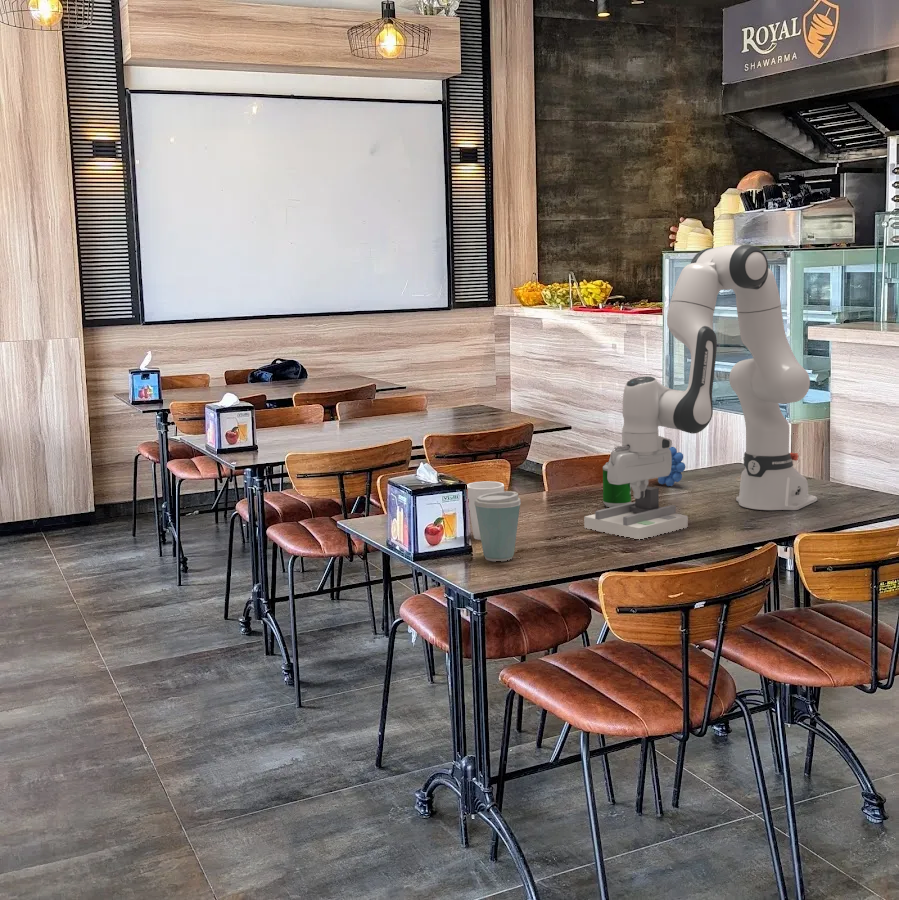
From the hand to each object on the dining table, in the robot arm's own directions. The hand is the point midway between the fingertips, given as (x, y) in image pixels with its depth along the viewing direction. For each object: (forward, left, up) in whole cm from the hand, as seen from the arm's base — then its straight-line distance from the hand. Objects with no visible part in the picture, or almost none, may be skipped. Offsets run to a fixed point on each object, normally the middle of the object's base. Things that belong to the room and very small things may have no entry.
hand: (639, 497), depth 276 cm
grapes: (-45, -27, -8) cm, 53 cm away
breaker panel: (+1, 0, -7) cm, 8 cm away
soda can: (-14, -20, -8) cm, 25 cm away
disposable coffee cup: (+44, -3, -8) cm, 45 cm away
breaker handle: (-3, 0, -4) cm, 5 cm away
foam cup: (+33, -20, -8) cm, 40 cm away
